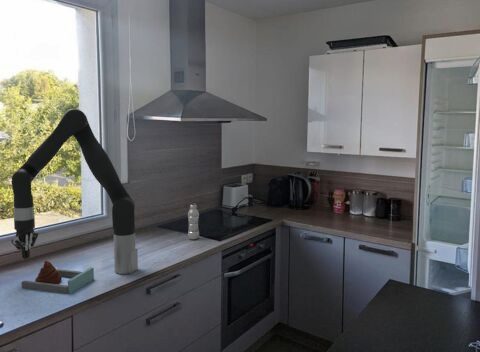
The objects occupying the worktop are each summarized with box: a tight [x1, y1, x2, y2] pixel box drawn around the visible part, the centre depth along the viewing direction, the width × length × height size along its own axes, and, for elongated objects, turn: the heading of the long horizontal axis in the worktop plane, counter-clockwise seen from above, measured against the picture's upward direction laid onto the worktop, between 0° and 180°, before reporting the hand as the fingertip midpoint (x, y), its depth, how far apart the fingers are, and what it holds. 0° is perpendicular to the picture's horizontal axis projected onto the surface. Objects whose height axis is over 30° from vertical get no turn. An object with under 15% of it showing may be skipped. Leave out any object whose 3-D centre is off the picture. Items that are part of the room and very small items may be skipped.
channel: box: [21, 267, 95, 294], centre depth 169 cm, size 22×16×5 cm
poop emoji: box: [34, 260, 63, 285], centre depth 170 cm, size 10×8×9 cm
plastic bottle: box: [187, 203, 200, 240], centre depth 233 cm, size 6×7×20 cm
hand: (26, 258), depth 172 cm, fingers closed
